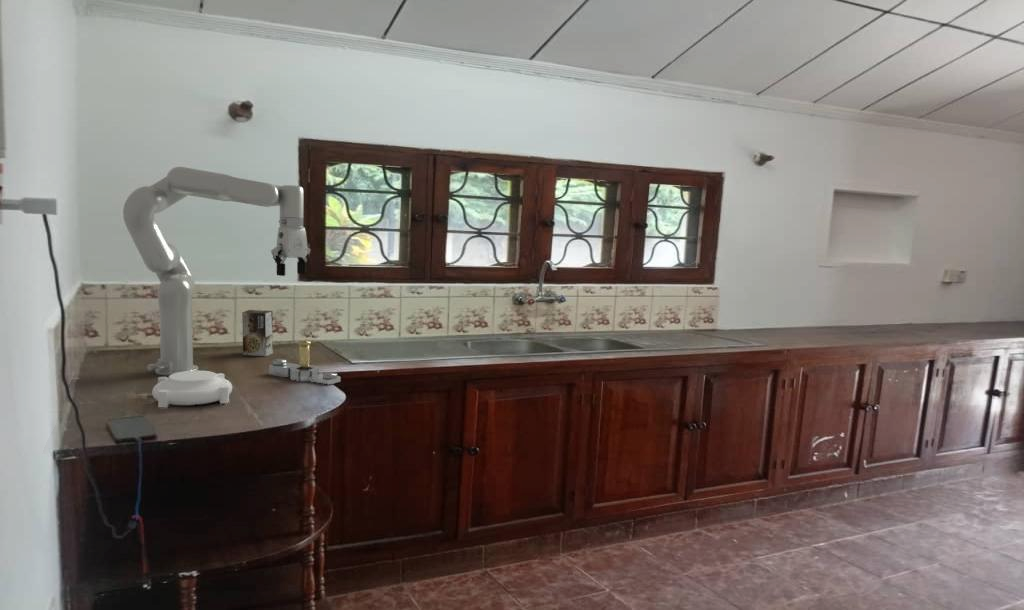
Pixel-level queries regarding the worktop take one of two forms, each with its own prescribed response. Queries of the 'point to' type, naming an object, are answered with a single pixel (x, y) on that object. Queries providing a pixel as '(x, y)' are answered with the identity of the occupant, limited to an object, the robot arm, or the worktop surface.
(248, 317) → the coffee box
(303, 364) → the pin
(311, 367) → the link
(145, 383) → the worktop surface
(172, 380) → the round stand with pegs
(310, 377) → the link
